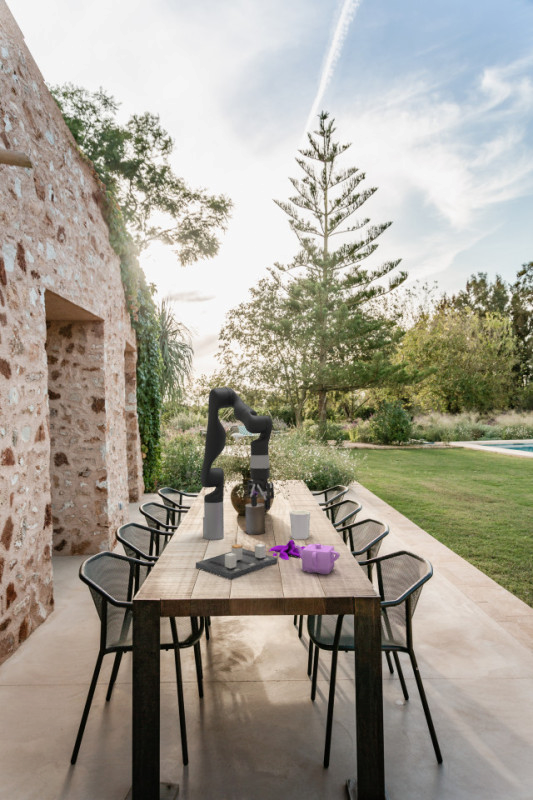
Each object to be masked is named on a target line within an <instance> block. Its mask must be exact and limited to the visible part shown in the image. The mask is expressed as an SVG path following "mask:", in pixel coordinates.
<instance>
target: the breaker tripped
mask: <svg viewBox="0 0 533 800" xmlns="http://www.w3.org/2000/svg"><path fill="white" fill-rule="evenodd" d="M242 548H243V545H240V544H234V545H231V552H232V553H233V554H236V560H240V559H242Z"/></svg>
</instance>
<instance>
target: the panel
mask: <svg viewBox="0 0 533 800" xmlns="http://www.w3.org/2000/svg"><path fill="white" fill-rule="evenodd" d="M229 553H232V551H229V552H226V553H223V554H219V555H216V556H212V557H209V558H207V559H204V560H202V559H201V561H200V560H199V561H196V562H195V568H196V567H197V568H196V569H198V568H200V569H199V570H201V569H203V570H202V571H204V570H205V571H204V572H207V571H208V572H207V573H210V572H211V573H210V574H213V573H214V574H213V575H216V574H217V576H219V575H220V576H219V577H221V578H225V579H227V578H228V580H230V579H231V580H235V579H236V578H239V577H242V576H245V575H247V574H250V573H254V572H256V571H259V570H262V569H264V568H267V567H270V566H273V565H275V564H277V563H278V557H277V556H276V557H274V556H273V555H268V554H266V557H263V558H257V557H255V550H254V551H252V550H250V549H247V548H243V547H242V559H240V560H236V567H234V568H231V569H230V568H227V567H225V554H229Z"/></svg>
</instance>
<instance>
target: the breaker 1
mask: <svg viewBox="0 0 533 800" xmlns="http://www.w3.org/2000/svg"><path fill="white" fill-rule="evenodd" d="M228 553H229V552H228ZM224 554H225V553H224ZM225 567H227V568H230V569H231V568H234V567H236V554H233V553H229V554H225Z"/></svg>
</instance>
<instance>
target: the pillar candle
mask: <svg viewBox="0 0 533 800" xmlns="http://www.w3.org/2000/svg"><path fill="white" fill-rule="evenodd" d="M244 506H245V507H244V508H245V533H248V535H252V534H256V535H262V534H265V533H266V517H265V516H266V513H265V511H266V510H265V509H264V503H261V502H257V506H255V507H252V506H251V502H250V503H246V504H245V505H244ZM264 532H265V533H264Z"/></svg>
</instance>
